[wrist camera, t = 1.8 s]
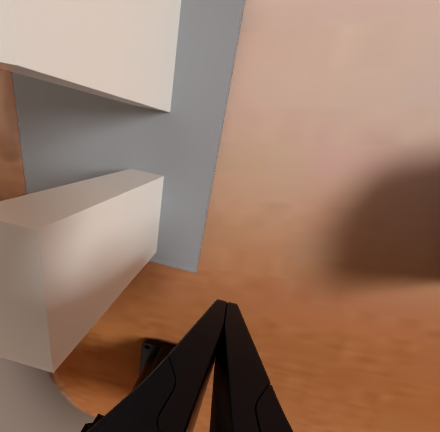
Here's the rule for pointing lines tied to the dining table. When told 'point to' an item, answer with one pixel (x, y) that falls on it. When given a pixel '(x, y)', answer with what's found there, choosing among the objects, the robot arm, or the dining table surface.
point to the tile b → (95, 46)
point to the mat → (143, 129)
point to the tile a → (71, 260)
